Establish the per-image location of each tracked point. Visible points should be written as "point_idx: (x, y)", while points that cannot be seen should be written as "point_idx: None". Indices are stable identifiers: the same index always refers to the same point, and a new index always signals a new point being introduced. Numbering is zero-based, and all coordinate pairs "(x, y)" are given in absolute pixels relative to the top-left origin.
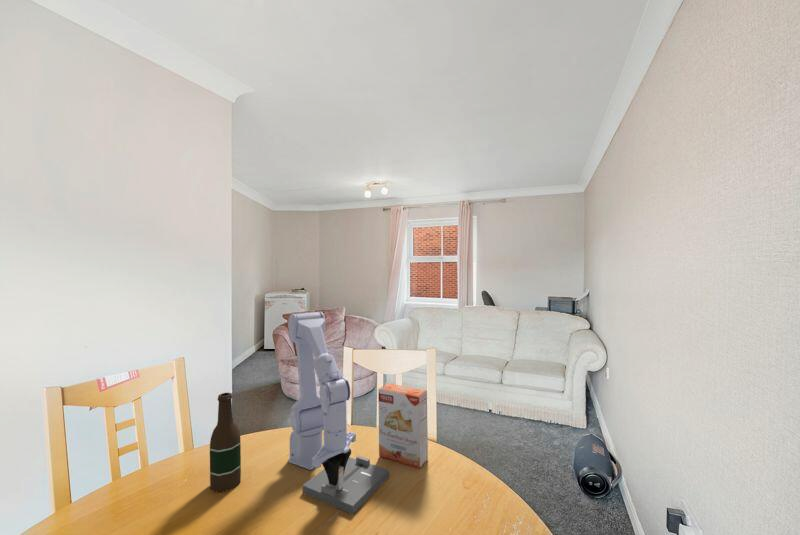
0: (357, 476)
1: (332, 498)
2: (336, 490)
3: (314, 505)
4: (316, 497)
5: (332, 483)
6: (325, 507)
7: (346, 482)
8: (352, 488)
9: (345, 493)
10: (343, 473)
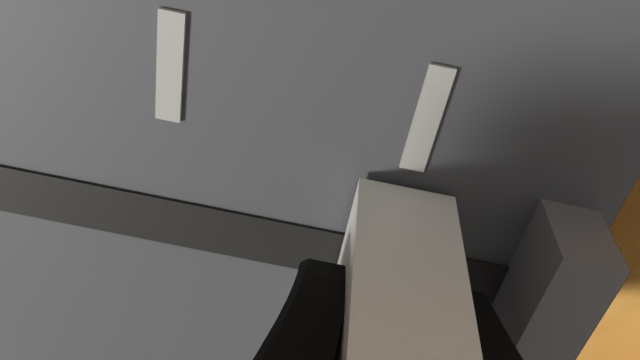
0: (38, 86)
1: (609, 213)
2: None
3: None
4: None
5: None
6: None
7: (243, 179)
8: (343, 34)
9: (496, 88)
10: (303, 324)
